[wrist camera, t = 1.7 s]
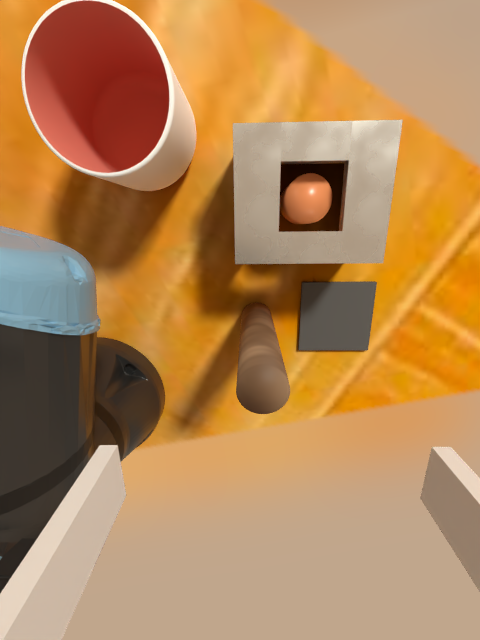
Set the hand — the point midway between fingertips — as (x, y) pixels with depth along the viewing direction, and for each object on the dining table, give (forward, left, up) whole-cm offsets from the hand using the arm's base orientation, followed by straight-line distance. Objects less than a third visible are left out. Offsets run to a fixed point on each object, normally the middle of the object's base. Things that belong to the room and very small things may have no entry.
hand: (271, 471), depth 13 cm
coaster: (+9, 0, -22) cm, 24 cm away
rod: (0, 0, -22) cm, 22 cm away
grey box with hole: (+4, +12, -22) cm, 26 cm away
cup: (-11, +18, -23) cm, 31 cm away
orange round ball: (+4, +12, -20) cm, 24 cm away
